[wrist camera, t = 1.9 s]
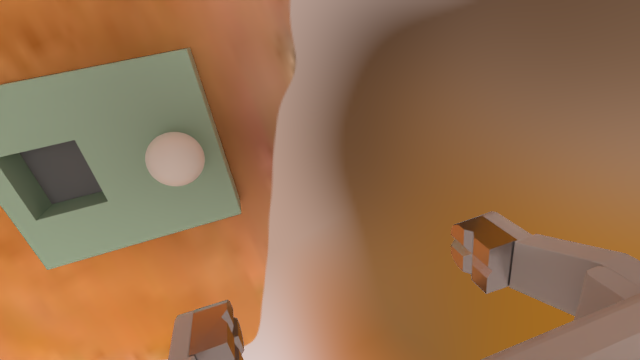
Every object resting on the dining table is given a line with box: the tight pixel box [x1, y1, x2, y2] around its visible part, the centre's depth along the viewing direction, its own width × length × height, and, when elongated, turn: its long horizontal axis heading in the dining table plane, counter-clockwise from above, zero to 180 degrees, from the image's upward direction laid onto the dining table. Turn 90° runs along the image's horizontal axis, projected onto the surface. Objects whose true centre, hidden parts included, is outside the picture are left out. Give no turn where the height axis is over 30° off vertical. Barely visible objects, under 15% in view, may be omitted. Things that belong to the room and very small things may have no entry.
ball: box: [145, 132, 205, 186], centre depth 24 cm, size 4×4×4 cm
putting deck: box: [0, 48, 241, 270], centre depth 26 cm, size 14×16×3 cm
